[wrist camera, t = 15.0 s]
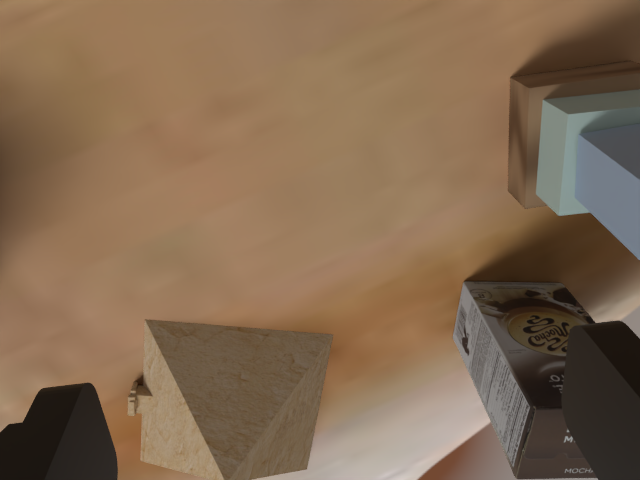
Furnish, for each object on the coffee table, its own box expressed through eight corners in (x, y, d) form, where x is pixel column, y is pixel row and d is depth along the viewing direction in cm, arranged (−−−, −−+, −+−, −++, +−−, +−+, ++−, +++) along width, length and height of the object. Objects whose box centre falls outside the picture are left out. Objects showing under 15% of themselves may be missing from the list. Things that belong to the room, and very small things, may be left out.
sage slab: (542, 99, 42) (567, 114, 38) (642, 89, 42) (677, 102, 39) (535, 193, 45) (558, 215, 42) (629, 183, 45) (659, 204, 42)
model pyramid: (134, 313, 52) (106, 391, 43) (336, 329, 54) (349, 407, 45) (130, 458, 59) (106, 552, 50) (309, 467, 61) (316, 558, 52)
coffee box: (563, 279, 53) (675, 406, 39) (547, 341, 56) (645, 481, 41) (461, 278, 52) (536, 408, 38) (450, 340, 55) (515, 483, 40)
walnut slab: (508, 76, 45) (529, 88, 42) (628, 60, 45) (659, 70, 42) (506, 189, 49) (525, 208, 46) (616, 173, 49) (643, 192, 46)
